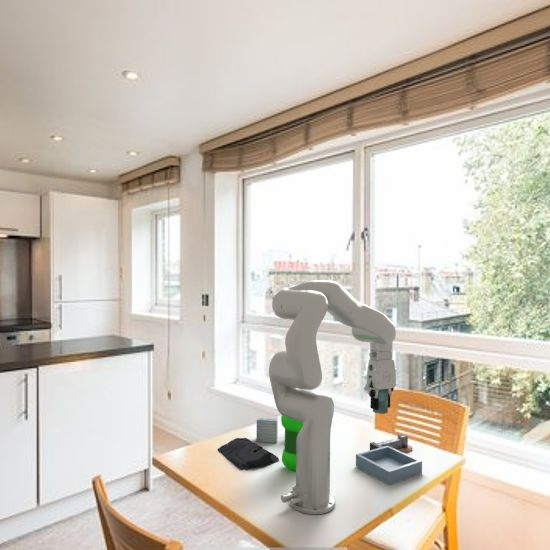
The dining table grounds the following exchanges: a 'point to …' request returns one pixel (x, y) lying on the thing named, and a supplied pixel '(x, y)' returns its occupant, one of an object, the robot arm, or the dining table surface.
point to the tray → (388, 464)
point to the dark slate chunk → (247, 454)
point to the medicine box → (267, 429)
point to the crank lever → (392, 443)
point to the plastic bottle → (290, 441)
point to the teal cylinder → (382, 402)
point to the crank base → (406, 449)
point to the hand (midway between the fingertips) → (380, 407)
